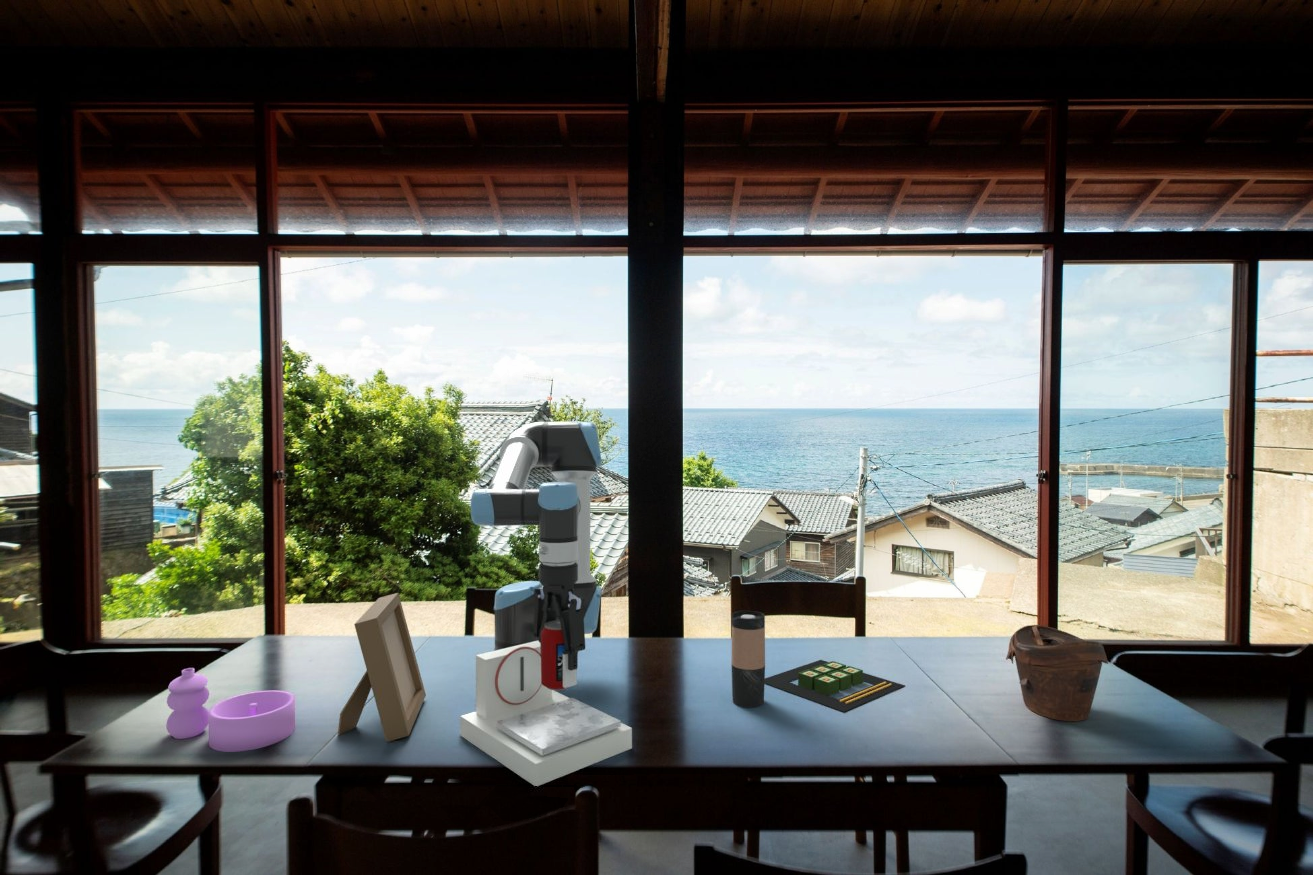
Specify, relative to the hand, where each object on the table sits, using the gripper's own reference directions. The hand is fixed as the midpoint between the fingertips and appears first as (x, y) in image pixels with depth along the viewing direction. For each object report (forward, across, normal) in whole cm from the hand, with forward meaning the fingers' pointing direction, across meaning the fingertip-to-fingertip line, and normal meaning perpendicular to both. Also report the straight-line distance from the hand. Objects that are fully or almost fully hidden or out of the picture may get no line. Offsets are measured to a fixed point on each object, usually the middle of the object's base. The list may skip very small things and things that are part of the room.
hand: (558, 680), depth 137 cm
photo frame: (+14, -37, -20) cm, 44 cm away
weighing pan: (+9, 0, 0) cm, 9 cm away
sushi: (+14, +15, +70) cm, 73 cm away
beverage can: (+1, 0, 0) cm, 1 cm away
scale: (+14, -5, 0) cm, 15 cm away
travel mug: (+14, +9, +46) cm, 49 cm away
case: (+14, +58, +93) cm, 111 cm away
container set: (+14, -52, -45) cm, 70 cm away
